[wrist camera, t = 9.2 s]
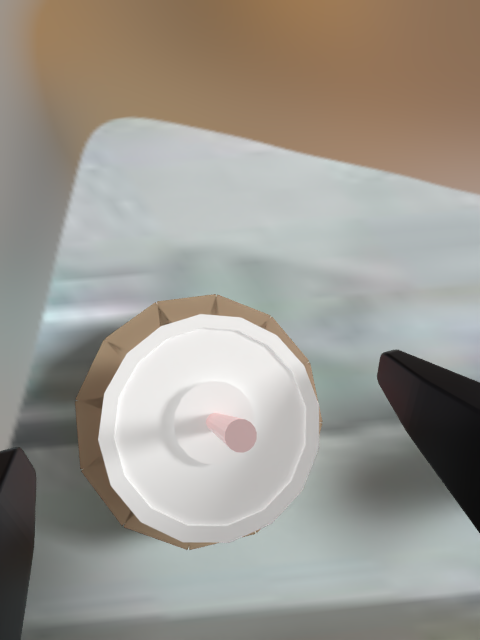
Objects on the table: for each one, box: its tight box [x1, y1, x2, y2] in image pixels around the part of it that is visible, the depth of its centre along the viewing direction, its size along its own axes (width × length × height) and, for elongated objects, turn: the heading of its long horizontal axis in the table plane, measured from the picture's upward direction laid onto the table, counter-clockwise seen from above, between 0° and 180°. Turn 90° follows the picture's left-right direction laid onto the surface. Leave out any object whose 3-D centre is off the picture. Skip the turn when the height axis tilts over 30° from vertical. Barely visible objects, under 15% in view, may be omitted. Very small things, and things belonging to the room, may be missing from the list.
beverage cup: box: [98, 314, 319, 543], centre depth 12 cm, size 6×6×14 cm
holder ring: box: [75, 294, 322, 550], centre depth 17 cm, size 10×10×4 cm
